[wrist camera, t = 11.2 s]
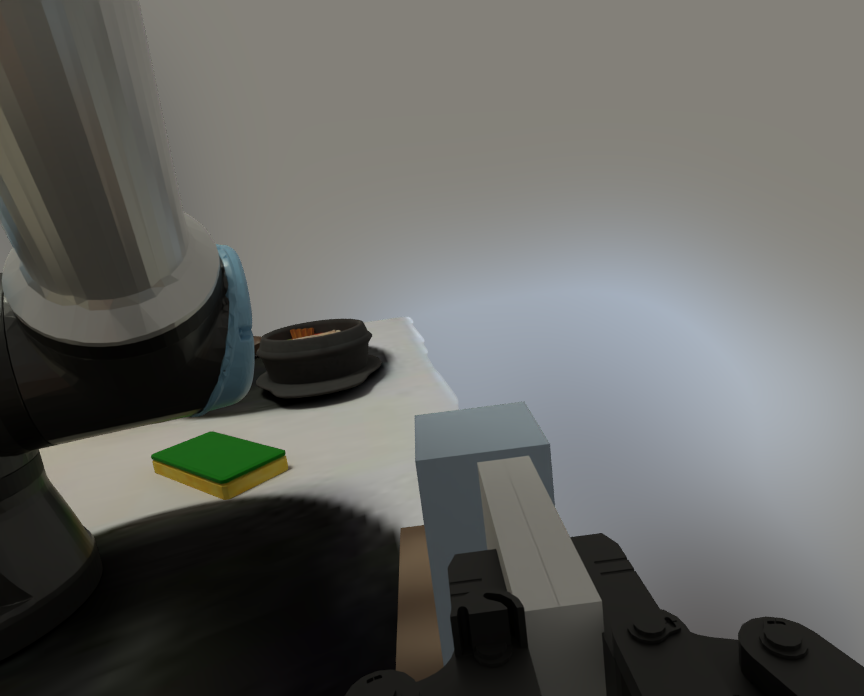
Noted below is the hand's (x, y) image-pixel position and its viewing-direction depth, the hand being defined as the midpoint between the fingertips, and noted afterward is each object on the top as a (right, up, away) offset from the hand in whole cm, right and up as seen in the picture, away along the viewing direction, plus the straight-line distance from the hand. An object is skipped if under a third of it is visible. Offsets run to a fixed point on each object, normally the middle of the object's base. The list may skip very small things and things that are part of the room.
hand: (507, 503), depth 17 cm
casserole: (-19, -1, +71) cm, 73 cm away
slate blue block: (+1, -10, +10) cm, 14 cm away
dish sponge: (-24, -9, +42) cm, 49 cm away
